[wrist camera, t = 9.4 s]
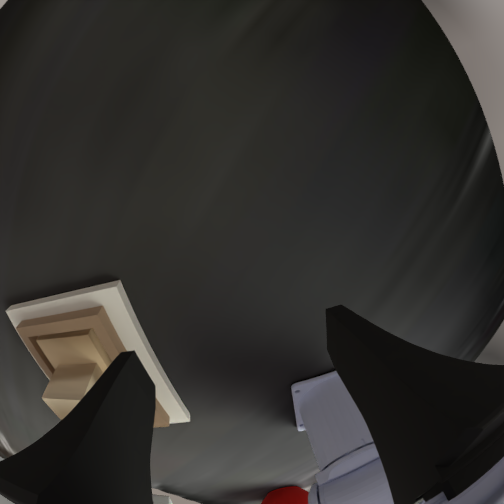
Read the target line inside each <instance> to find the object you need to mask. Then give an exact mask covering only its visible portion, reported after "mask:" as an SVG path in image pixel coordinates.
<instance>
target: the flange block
mask: <svg viewBox="0 0 504 504" xmlns="http://www.w3.org/2000/svg"><path fill="white" fill-rule="evenodd" d="M36 341H37V343H38V344H39V346H40V348H41V349H42V351H43V352H44V354H45V355H46V357H47V358H48V360H49V361H50V363H51V364H52V366H53V367H54V369H55V371H54V373H53V375H52V377H51V379H50V381H49V383H48V385H47V388H46V390H45V392H44V394H43V396H42V399H43V400H44V401H45V402H46V404H47V405H48V406H49V407H50V408H51V409H52V410H53V412H54V413H55V414H56V415H57V416H58V417H59V418H60V419H61V420H62V419H63V418H65V417H66V416H67V415H68V414H69V413H70V412H71V410H72V409H73V408H74V407H75V406H76V405H77V404H78V403H79V401H80V400H81V399H82V398H83V397H84V396H85V395H86V393H87V392H88V391H89V390H90V389H91V388H92V386H93V385H94V384H95V383H96V381H97V380H98V379H99V378H100V376H101V375H102V374H103V373H104V371H105V370H106V369H107V368H108V367H109V365H110V364H111V363H112V360H111V359H110V357H109V355H108V354H107V352H106V350H105V349H104V347H103V345H102V344H101V342H100V340H99V338H98V337H97V335H96V333H95V331H94V329H93V328H91V329H84V330H78V331H71V332H64V333H56V334H49V335H41V336H39V337H38V338H37V340H36Z"/></svg>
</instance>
